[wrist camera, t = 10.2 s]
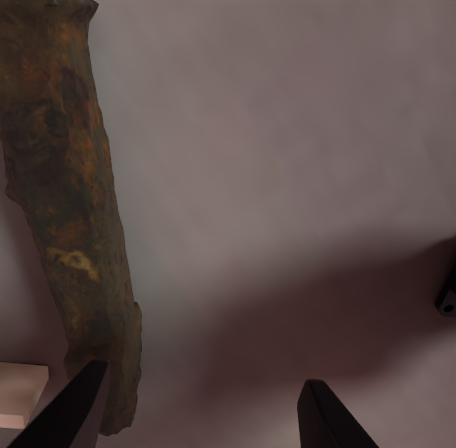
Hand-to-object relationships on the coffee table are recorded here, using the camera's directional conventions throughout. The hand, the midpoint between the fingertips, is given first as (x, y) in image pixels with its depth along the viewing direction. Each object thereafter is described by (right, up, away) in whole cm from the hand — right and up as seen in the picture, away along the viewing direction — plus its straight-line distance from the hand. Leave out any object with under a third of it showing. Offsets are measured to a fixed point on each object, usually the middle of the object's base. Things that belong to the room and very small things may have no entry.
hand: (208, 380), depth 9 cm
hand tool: (-5, +3, +8) cm, 10 cm away
